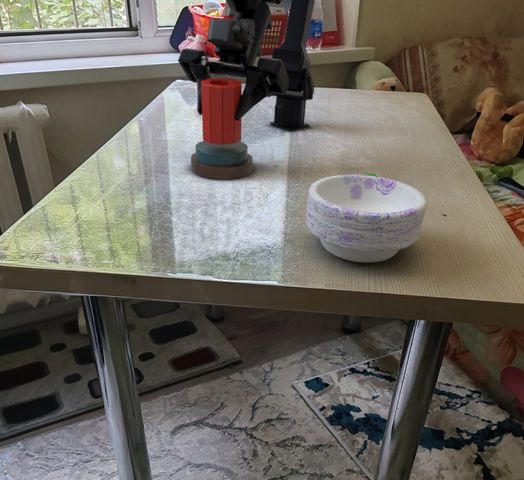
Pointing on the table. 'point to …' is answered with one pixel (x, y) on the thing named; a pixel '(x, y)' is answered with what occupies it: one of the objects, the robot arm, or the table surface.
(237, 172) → the stack base
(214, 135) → the red cylinder
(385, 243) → the paper bowls
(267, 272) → the table surface
